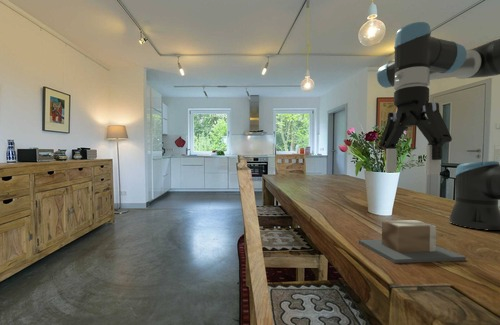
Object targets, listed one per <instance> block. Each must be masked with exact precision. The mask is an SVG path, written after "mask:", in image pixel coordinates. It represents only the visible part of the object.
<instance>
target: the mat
mask: <svg viewBox="0 0 500 325" xmlns="http://www.w3.org/2000/svg"><path fill="white" fill-rule="evenodd" d="M358 244H360V245H361V246H363V247H365V248H367V249H369V250H371V251H372V252H374V253H376V254H377V255H379V256H381V257H383V258H384V259H386V260H389V262H392V263H394V264H408V263H410V264H411V263H429V262H430V263H432V262H435V263H437V262H456V261H458V262H459V261H467V257H466V256H465V255H462V254H460V253H457V252H455V251H452V250H449V249H446V248H444V247H441V246H439V245H436V251H431V252H430V251H424V252H400V253H398V252H396V251H394V250H392V249H390V248H388V247H386V246H384V245H382V239H359V240H358Z"/></svg>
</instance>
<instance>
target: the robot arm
mask: <svg viewBox="0 0 500 325" xmlns="http://www.w3.org/2000/svg"><path fill="white" fill-rule="evenodd" d="M431 33H432V31H431V25H430V24H429V23H428V22H424V21H415V22H412V23H409V24H406V25H404V26H402V27H400V28H399V29H398V30H397V32H396V33H395V38H394V46H393V48H394V60H391V61H388V62H387V63H385V64H384V65H381V66H380V67H379V68H378V70H377V73H376V80H377V83H378V84H379V85H380V86H381V87H383V88H385V89H388V88H392V87H393V89H394V90H395V91H394V92H393V105H394V106H395V107H396V108H397V110H396V112H388V113H387V121H386V124H385V128H384V130H383V133H382V136H381V140H380V142H379V147H381V148H383V149H385V151H384V152H385V153H384V154H385V155H384V156H385V157H384V158H385V172H386V173H397V168H398V167H397V166H398V165H397V164H398V163H397V161H398V160H397V158H398V151H397V150H398V149H397V144H398V142H399V140H400V139H401V137H402V136H403V134H404V132H405V130H407V129H409V128H410V127H413V126H416V127H417V128H418V130H419V131H420V132H421V134H422V135H423V136H424V138H425V139H426V140H427V142H428V144H427V145H426V156H425V157H426V158H425V159H426V161H425V162H426V164H425V165H426V166H425V170H426V171H425V175H426V176H440V174H441V173H440V168H441V160H442V159H443V146H444V145H445V144H446V143H451V142H452V140H453V138H452V135H451V134H450V132H449V129H448V127H447V125H446V123H445V120H444V119H443V116H442V114H441V112H440V103H439V102H430V88H429V86H430V83H431V82H430V81H433V80H441V79H450V78H456V79H462V80H463V79H464V80H465V79H475V78H485V77H486V78H487V77H494V76H498V75H500V37H499V38H497V39H493V40H491V41H489V42H486V43H483V44H482V45H479V46H477V47H473V48H469V49H466V47H465V46H464V45H462V44H460V43H457V42H456V41H452V40H451V41H449V40H446V39H443V38H442V39H440V38H437V37H434V36H431ZM454 177H455V202H454V205H453V207H452V210H451V212H450V214H449V216H448V217H449V218H448V222H449V221H450V222H452V223H454V224H457V225H461V226H466V227H471V228H478V229H488V230H500V208H499V200H500V162H499V161H497V160H496V161H495V160H492V161H491V160H490V161H489V160H487V161H472V162H465V163H460V164H459V165H457V166H456V170H455V175H454Z"/></svg>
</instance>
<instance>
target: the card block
mask: <svg viewBox="0 0 500 325" xmlns="http://www.w3.org/2000/svg"><path fill="white" fill-rule="evenodd" d="M436 237H437V226H436V225H433V224H430V223H427V222H425V221H424V222H423V221H421V220H418V219H415V220H414V219H413V220H412V219H411V220H410V219H409V220H408V219H407V220H404V219H403V220H384V221H383V220H381V240H382V245H384V246H386V247H388V248H390V249H392V250H394V251H396V252H398V253H400V252H424V251H430V252H431V251H436V246H437V245H436V243H437V238H436Z"/></svg>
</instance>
